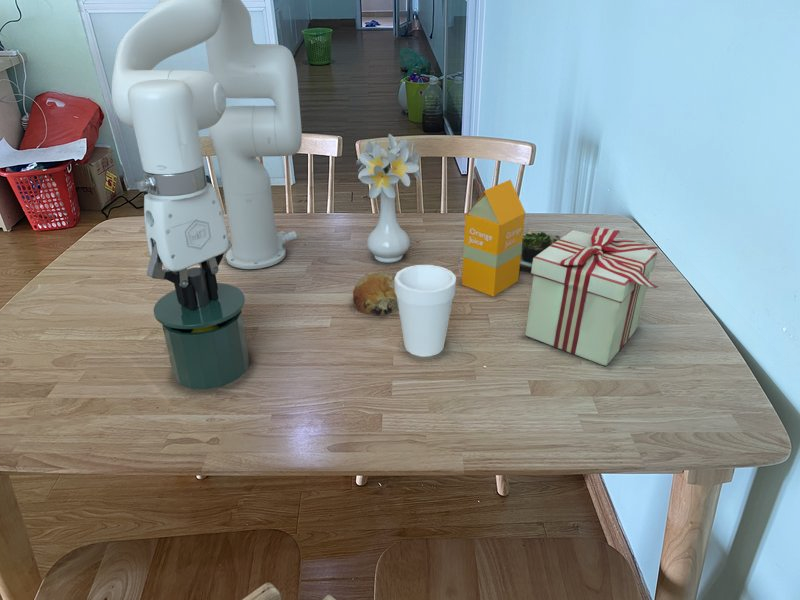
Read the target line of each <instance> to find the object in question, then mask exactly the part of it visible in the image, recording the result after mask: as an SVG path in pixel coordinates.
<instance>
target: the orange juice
mask: <svg viewBox="0 0 800 600" xmlns="http://www.w3.org/2000/svg"><path fill="white" fill-rule="evenodd" d="M464 216H465V217H464V231H463V233H464V235H463V247H462V274H461V276H462V277H461V285H462V286H465V287H467V288H470V289H473V290H475V291H478V292H480V293H483V294H486V295H488V296H490V297H496V296H497V295H499V294H500V293H501V292H504V291H506V289H508V288H510V287H511V286H513V285H514V284H516V283H517V282H519V277H520V258H521V251H522V238H523V236H524V227H525V219H526V218H525V217H526V211H525V209H524V206H523V204H522V201H521V200H520V197H519V195H518V193H517V191H516V189H515V187H514V184H513V182H512V180H511V179H509V180H506V181H504V182H501V183H499V184H496V185H494V186H492V187H489V188H487V189H485V190H483V192H482V194H481V195H480V197H479V198H478V199H477V201H476V202H475V203H474V204H473V205H472V207H471V208H470V209H469V211H468V212H467V213H466V214H465V215H464Z"/></svg>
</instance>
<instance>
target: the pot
mask: <svg viewBox="0 0 800 600" xmlns="http://www.w3.org/2000/svg"><path fill="white" fill-rule="evenodd" d="M216 325H217V326H218V327H219V328H217V329H214V330H211V331H206V332H200V333H191V331H192V330H193V329H178V328H172V327H168V326H165V325H163V324H161V327H162V331H163V335H164V340H165V344H166V347H167V351H168V353H167V354H168V357H169V361H170V366H171V370H172V375H173V378H174V380H175V381H176V382H177V383H178V384H179V385H180V386H182V387H184V388H189V389H192V390H212V389H216V388H221V387H224V386H227V385H229V384H231V383H233V382H235V381H237V380H238V379H239V378H241V377H242V376H244V374H245V373H246V372H247V370H248V368H249V366H250V359H249V351H248V344H247V339H246V331H245V325H244V319H243V312H242V310H241V311H240V312H239V313H238V314H236V315H235V316H234V317H232V318H230V319H228V320H226V321H224V322H222V323H219V324H216Z"/></svg>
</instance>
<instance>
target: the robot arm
mask: <svg viewBox="0 0 800 600" xmlns="http://www.w3.org/2000/svg"><path fill="white" fill-rule="evenodd" d="M204 43H205V49H206V55H207V64H208V71H209V72H208V71H205V70H200V69H154V68H155V67H156V66H158V65H159V64H160V63H162V62H163V61H165V60H166V59H168V58H170V57H172V56H175V55H177V54H180V53H183V52H185V51H188V50H190V49H192V48H195V47H197V46H199V45H200V44H204ZM110 89H111V92H110V93H111V101H112V107H113V111H114V112H115V113H116V116H117V118H118V119H119V120H120V122H122V123H123V124H124V125H126V126H127V127H130V128H133V130H134V135H135V138H136V139H135V140H136V144H137V148H138V153H139V157H140V162H141V166H142V177H143V178H142V179H141V180H139V181H137V182H136V187H137V189H138V191H139V192H141V193H142V192H147V193H146V194H144V196H143V197H144V199H143V214H144V215H143V216H144V227H145V236H146V241H147V247H148V251H149V255H150V258H149V261H148V266H147V269H146V275H147V276H148V277H149V278H152V279H155V280H163V281H168V282H171V283H172V284H173V285H174V290H176V295H177V299H178V302H179V304H180V305H182V306H183V307H185V308H187V309H189V310H191V311H194V310H196V308H197V305H196V300H195V295H194V290H193V286H192V285H191V284H188V274H187V269H190V268H192V267H195V266H196V265H199V268H203V269H204V270H205V273H206V279H207V285H208V290H209V296H210V299H212V300H217V299H218V293H217V290H218V286H217V283H218V281H217V274H218V273H219V271H220V270H219V265H220V264H221V262H222V260H223V257H224V256H225V261H226V263H227V264H228V265H230V266H231V267H233V268H237V269H241V270H242V269H243V270H258V269H265V268H269V267H272V266H275V265H277V264H279V263H280V262H282V261H283V260H284V259H285V258H286V255H287V251H286V248H285V246H284V245H286V243H288V242H293V241H296V240H297V239H298V236H297V232H296V231H295V230H293V231H289V232H287V233H286V232H285V231H284V230H280V231H278V232H277V228H276V227H277V226H276V219H275V209H274V201H273V192H272V183H271V182H272V181H271V177H270V174H269V172H268V170H267V169H266V167H265V166H264V165H263V164H262V162H261V161H260V160H259V159H258V158H259V157H261V158H263V157H264V158H265V157H291V156H294V155H296V154H298V153H299V151H300V149H301V147H302V140H303V132H302V131H303V130H302V119H301V108H300V107H301V105H300V94H299V82H298V72H297V66H296V61H295V58H294V56H293V53H292V51H291V50H290V49H289V48H288V47H286V46H284V45H281V44H277V43H255V41H254V36H253V27H252V17H251V14H250V11H249V9H248V7H247V6H246V5H245V4H244V2H243V1H242V0H158V3H157V5H155V6H154V7H152V8H151V9H150V10H148V11H147V12H145V14H143V16H141V17H140V18H139V19H138V20H137V21H136V22H135V23H134V24H133V25H132V26H131V27H130V28H129V29H128V30H127V31H126V33H125V34H124V35H123V36H122V38H121V40H120V41H119V44H118V46H117V49H116V52H115V57H114V63H113V69H112V77H111V88H110ZM227 99H270V100H272V101H273V103H274V105H230V106H227ZM206 129H208V133H209V138H210V141H211V144H212V147H213V150H214V153H215V156H216V160H217V163H218V168H219V173H220V179H221V185H222V191H223V197H224V204H225V210H226V218H227V224H228V229H227V224H226V220H225V216H224V212H223V209H222V205H221V202H220V199H219V197H218V194H217V191H216V189H215V187H214V185H213V184H212V183H211V182H208V181H207V175H206V168H205V164H204V157H203V149H202V145H201V138H200V133H199V131H202V130H206ZM228 230H229V234H228ZM229 236H230V239H229ZM163 266H164V268H163Z"/></svg>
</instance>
